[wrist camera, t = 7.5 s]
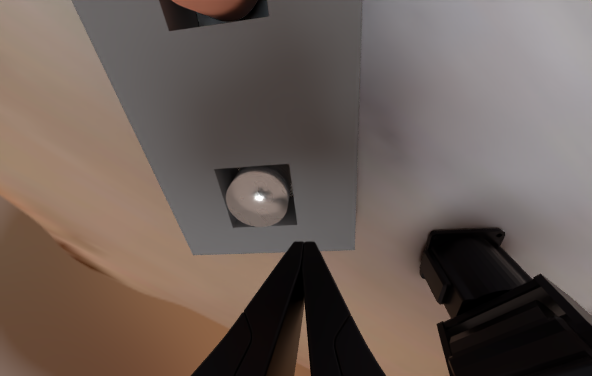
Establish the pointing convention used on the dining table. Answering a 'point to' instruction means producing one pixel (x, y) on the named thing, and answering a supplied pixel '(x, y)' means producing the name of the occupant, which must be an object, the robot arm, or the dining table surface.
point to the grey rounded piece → (260, 194)
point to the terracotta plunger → (219, 8)
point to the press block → (241, 111)
